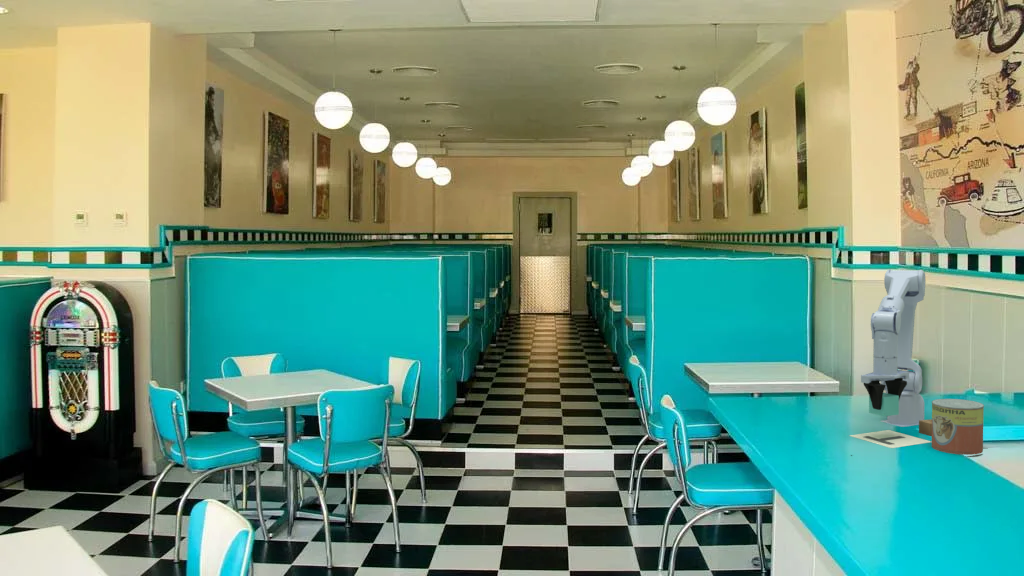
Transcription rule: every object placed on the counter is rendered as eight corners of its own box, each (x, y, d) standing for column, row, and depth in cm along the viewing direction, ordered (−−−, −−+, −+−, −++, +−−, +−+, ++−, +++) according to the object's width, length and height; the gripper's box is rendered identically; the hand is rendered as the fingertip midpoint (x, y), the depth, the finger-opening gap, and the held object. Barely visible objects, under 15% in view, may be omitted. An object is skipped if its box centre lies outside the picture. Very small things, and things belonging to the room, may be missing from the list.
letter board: (888, 432, 214) (888, 429, 214) (932, 444, 201) (932, 441, 201) (848, 437, 209) (848, 435, 209) (891, 450, 196) (891, 448, 196)
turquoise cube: (883, 410, 209) (883, 392, 209) (898, 414, 205) (898, 395, 204) (869, 412, 208) (869, 394, 207) (884, 416, 203) (884, 397, 203)
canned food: (920, 448, 197) (921, 401, 196) (951, 443, 202) (952, 397, 201) (962, 459, 187) (962, 410, 186) (993, 453, 191) (994, 405, 191)
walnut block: (918, 435, 210) (931, 433, 211) (929, 438, 207) (942, 437, 207) (918, 420, 210) (931, 419, 211) (930, 423, 206) (942, 422, 207)
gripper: (876, 360, 199) (875, 413, 199) (918, 356, 204) (918, 408, 204) (854, 357, 205) (854, 408, 206) (897, 353, 210) (896, 403, 211)
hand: (884, 408), depth 206 cm, fingers closed on turquoise cube, 5 cm apart
